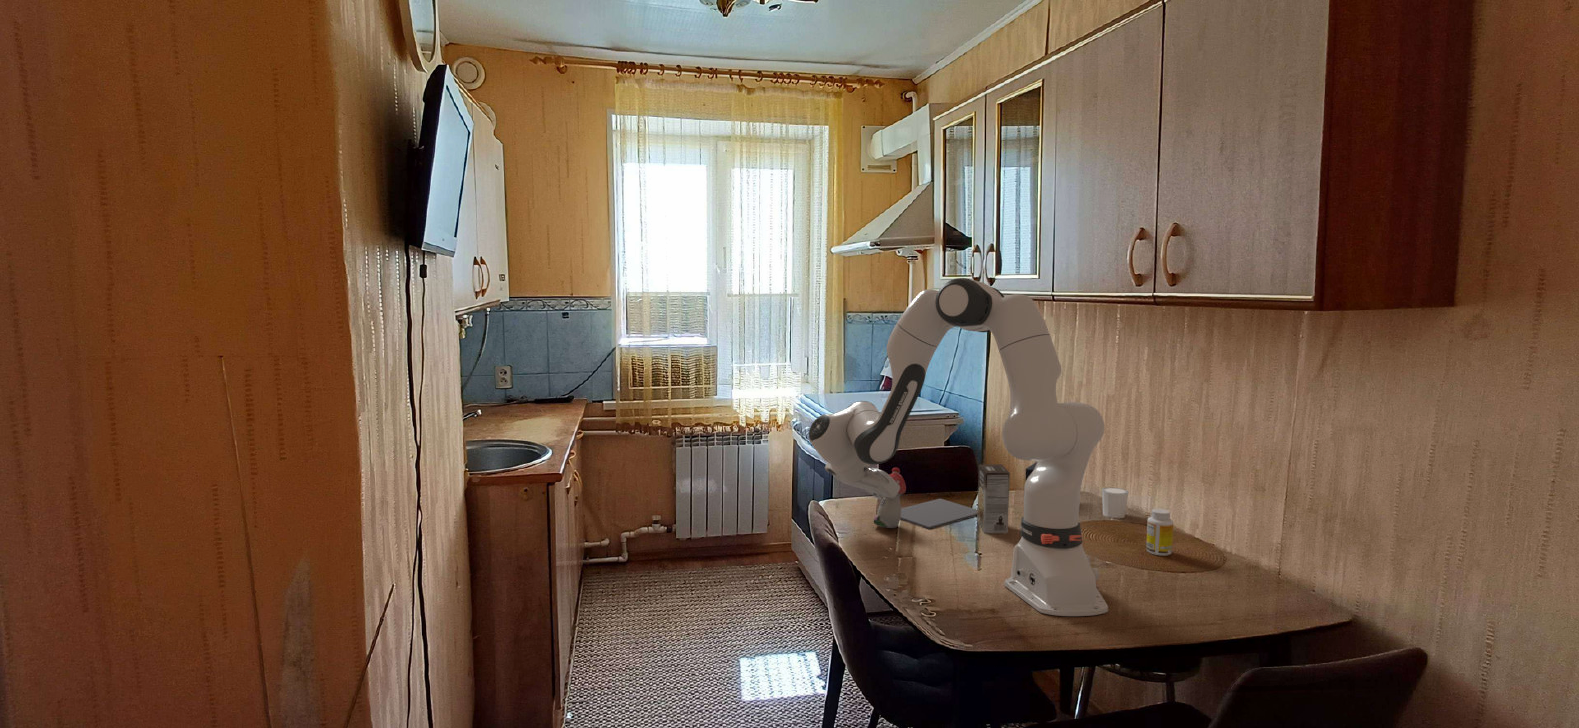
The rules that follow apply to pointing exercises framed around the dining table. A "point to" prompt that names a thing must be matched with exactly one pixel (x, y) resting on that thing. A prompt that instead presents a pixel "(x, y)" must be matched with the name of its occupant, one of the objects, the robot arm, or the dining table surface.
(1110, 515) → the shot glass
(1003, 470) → the coffee box
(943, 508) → the mat
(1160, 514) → the supplement bottle
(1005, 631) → the dining table surface
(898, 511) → the decorative ornament
